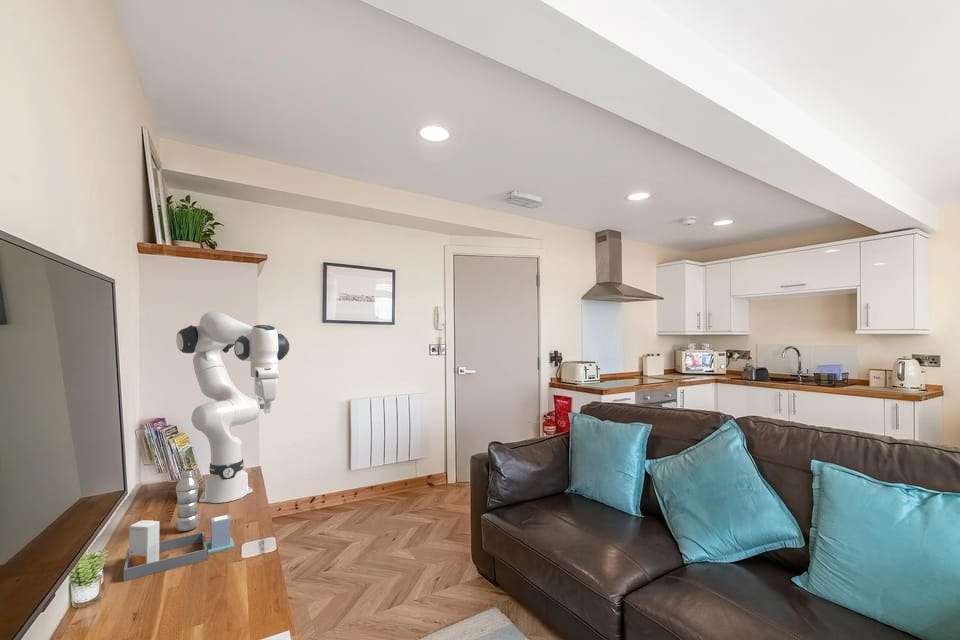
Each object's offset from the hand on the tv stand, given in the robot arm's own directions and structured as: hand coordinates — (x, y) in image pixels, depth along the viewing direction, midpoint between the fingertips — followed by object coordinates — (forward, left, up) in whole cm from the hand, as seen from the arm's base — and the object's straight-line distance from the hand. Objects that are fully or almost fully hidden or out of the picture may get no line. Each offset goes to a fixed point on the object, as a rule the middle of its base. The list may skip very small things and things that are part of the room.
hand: (264, 410), depth 155 cm
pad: (+10, -14, -39) cm, 43 cm away
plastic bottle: (-10, -22, -39) cm, 46 cm away
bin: (+10, -27, -39) cm, 49 cm away
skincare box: (+10, -33, -39) cm, 52 cm away
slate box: (+10, -14, -38) cm, 42 cm away
